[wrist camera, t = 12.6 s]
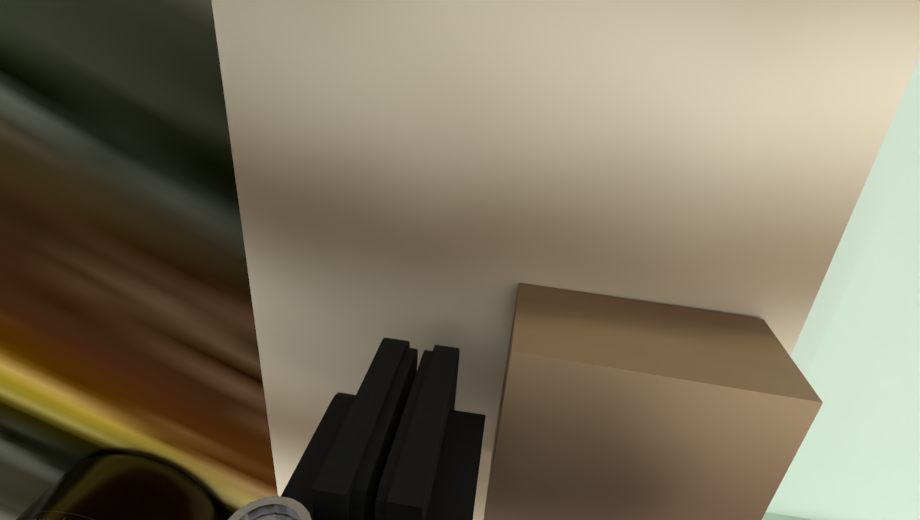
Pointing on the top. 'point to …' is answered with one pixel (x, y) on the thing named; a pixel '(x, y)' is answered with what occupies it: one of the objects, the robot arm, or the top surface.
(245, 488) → the top surface
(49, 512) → the supplement bottle
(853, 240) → the tray
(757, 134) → the maple board
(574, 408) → the walnut tile
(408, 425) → the robot arm
